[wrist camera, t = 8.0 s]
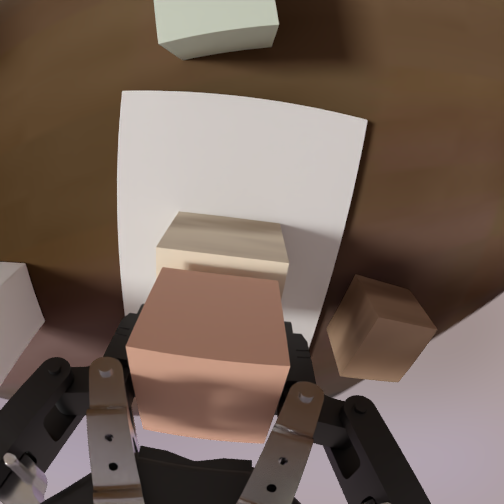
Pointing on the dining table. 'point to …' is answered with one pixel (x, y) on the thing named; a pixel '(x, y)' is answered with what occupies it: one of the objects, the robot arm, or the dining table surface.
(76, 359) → the dining table surface
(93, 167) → the dining table surface
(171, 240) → the birch block
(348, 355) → the walnut block
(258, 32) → the sage block
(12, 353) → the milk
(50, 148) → the dining table surface
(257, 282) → the terracotta block
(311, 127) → the mat
